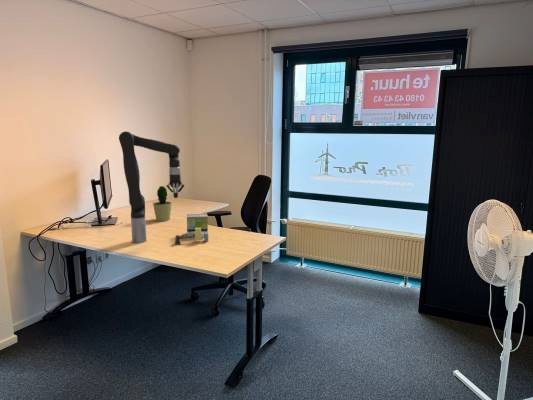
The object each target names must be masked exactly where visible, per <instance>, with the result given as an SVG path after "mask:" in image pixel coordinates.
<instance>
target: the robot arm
mask: <svg viewBox="0 0 533 400" xmlns="http://www.w3.org/2000/svg"><path fill="white" fill-rule="evenodd" d="M118 140H119V143H120V147H121V151H122V159H123V160H122V162H123V170H124V171H123V172H124V175H125V176H124V177H125V181H126V186H127V189H128V202H129V205H130V220H131V221H130V222H131V240H132V241H131V242H132V244H139V243H144V242H145V243H146V242H147V227H146V226H147V225H146V201H145V196H144V195H143V194H142V192H141V187H140V181H141V179H140V178H141V177H140V176H141V175H140V169H139V163H138V160H137V156H136V153H135V147H140V148H144V149H147V150H151V151H154V152H159V153H165V154H167V155H168V161H169V163H168V165H169V169H168V173H169V175H168V177H169V181H168V184H166V186H165V187H166V189H168V190H169V191H170V193H172V194H173V197H174V199H178V197H179V193H181V191H182V190H183V188H184V187H185V184H184V183H182V181H181V177H182V176H181V164H180V158H179V154H180V151H181V150H180V147H179V146H178V145H176V144H171V143H167V142H164V141H160V140H156V139H150V138H145V137H141V136H138V135H135V134H134V133H133V134H132V133H131V132H130V131H122V132H121V133H120V134H119V135H118Z"/></svg>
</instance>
